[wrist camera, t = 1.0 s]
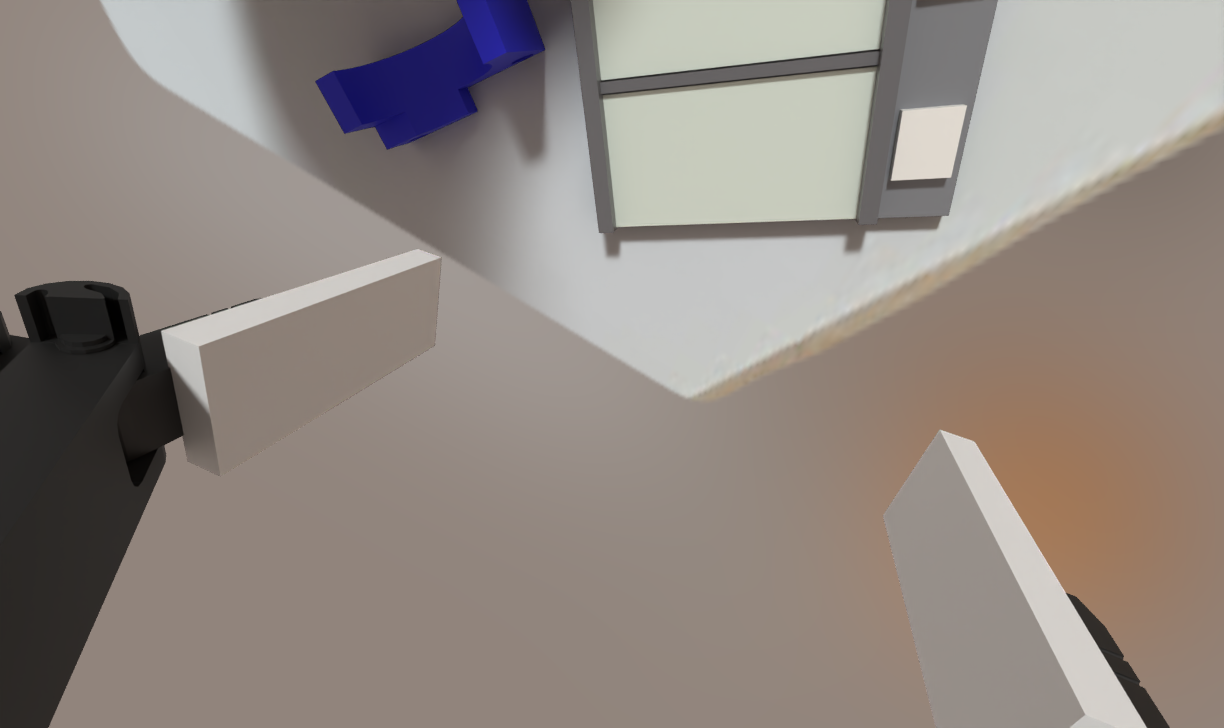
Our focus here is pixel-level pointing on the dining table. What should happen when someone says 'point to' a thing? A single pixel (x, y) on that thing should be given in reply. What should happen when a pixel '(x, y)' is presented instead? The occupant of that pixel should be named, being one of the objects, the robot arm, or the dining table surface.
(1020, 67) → the dining table surface
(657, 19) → the board
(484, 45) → the cable clip
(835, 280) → the dining table surface
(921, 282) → the dining table surface
